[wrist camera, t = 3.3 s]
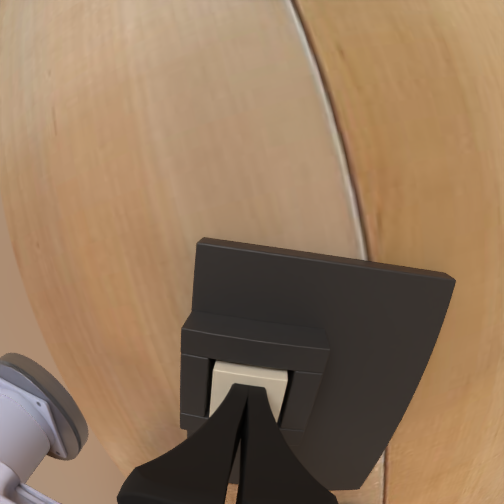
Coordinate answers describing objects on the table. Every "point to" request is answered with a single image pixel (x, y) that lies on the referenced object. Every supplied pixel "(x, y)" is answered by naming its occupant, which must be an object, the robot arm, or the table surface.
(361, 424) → the dark button panel
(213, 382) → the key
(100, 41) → the table surface
